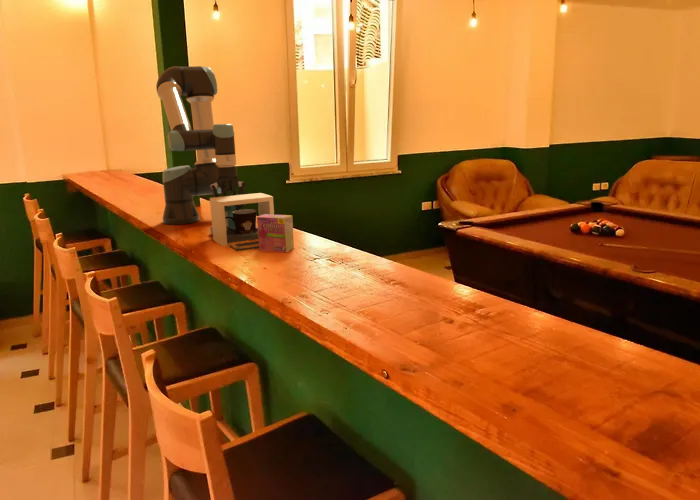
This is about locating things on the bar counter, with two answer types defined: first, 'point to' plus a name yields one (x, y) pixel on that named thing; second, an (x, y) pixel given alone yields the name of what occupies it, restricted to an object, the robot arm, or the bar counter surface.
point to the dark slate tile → (244, 246)
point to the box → (275, 232)
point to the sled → (232, 235)
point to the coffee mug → (244, 221)
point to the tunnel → (219, 202)
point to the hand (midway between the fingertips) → (231, 227)
